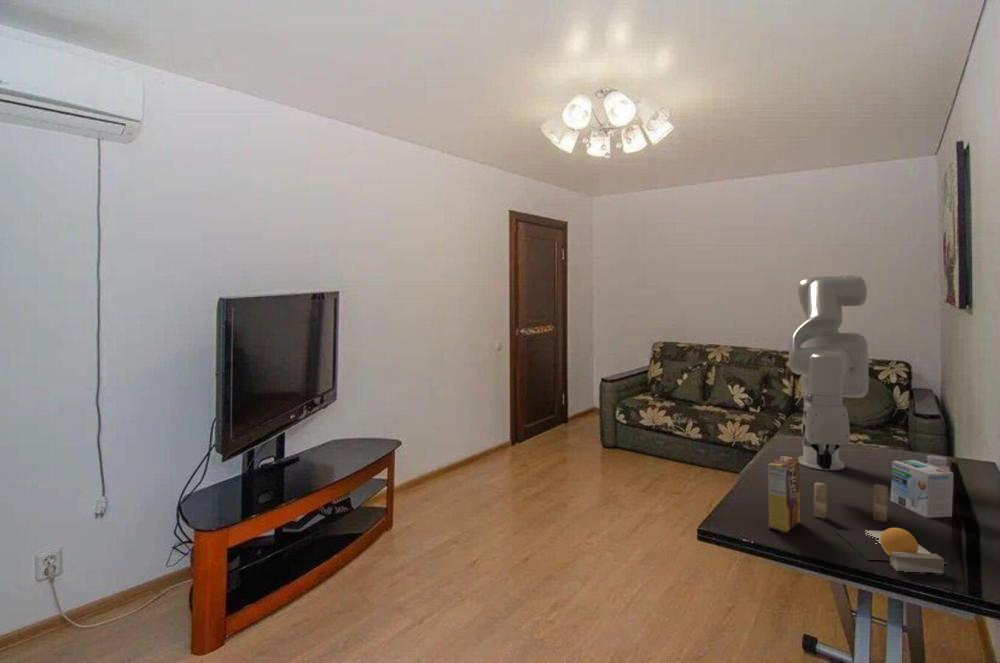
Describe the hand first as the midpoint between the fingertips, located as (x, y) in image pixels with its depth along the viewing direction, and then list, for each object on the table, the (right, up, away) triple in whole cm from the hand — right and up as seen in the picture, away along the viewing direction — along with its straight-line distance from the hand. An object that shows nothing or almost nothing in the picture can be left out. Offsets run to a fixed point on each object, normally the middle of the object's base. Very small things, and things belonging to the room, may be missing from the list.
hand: (823, 467), depth 134 cm
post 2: (+4, -9, -14) cm, 17 cm away
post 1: (-9, -9, -12) cm, 18 cm away
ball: (-6, -7, -33) cm, 34 cm away
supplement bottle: (+31, -7, +2) cm, 32 cm away
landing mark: (-5, -9, -27) cm, 29 cm away
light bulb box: (+19, -8, -9) cm, 22 cm away
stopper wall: (-6, -10, -37) cm, 39 cm away
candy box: (-20, -9, -17) cm, 28 cm away
